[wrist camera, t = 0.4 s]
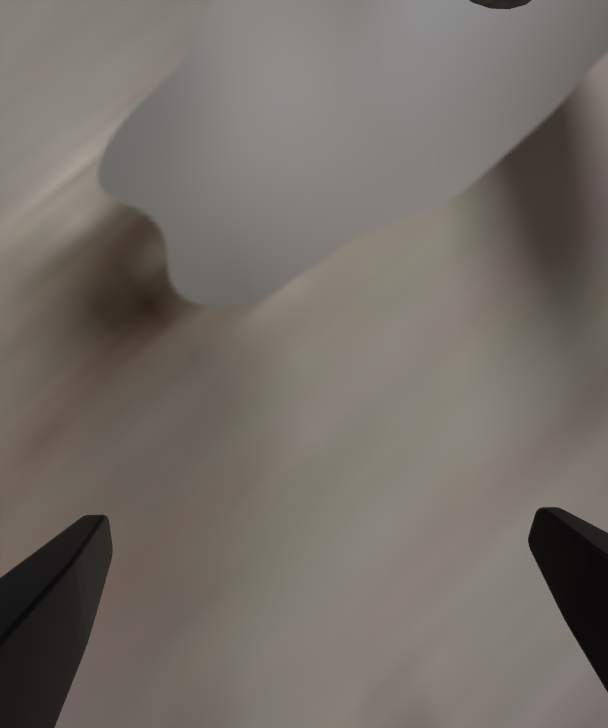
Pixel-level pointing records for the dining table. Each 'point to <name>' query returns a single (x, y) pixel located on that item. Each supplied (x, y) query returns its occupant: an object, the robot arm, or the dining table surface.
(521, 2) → the thermos
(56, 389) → the dining table surface
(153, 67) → the dining table surface
